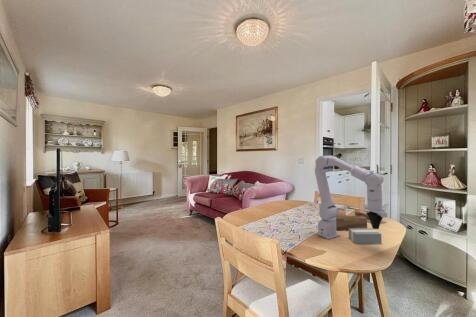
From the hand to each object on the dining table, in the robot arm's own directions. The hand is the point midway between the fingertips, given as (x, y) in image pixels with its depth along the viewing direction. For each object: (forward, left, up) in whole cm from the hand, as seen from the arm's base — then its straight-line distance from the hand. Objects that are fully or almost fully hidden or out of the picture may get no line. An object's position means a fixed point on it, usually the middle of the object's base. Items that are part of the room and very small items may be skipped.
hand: (375, 228), depth 97 cm
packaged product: (+39, +28, -10) cm, 50 cm away
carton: (+5, +9, -10) cm, 14 cm away
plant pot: (+24, +38, -10) cm, 46 cm away
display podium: (+13, +24, -10) cm, 29 cm away
